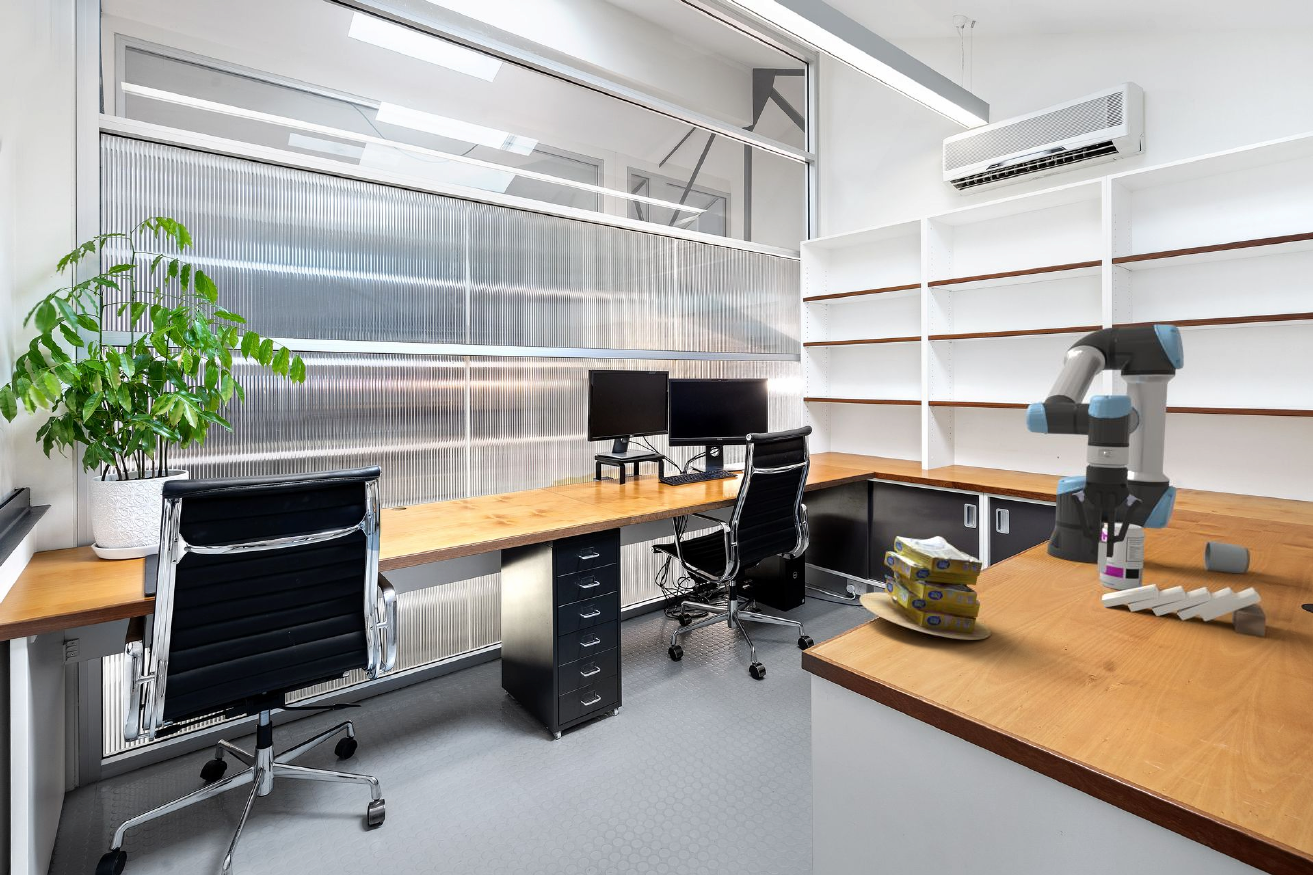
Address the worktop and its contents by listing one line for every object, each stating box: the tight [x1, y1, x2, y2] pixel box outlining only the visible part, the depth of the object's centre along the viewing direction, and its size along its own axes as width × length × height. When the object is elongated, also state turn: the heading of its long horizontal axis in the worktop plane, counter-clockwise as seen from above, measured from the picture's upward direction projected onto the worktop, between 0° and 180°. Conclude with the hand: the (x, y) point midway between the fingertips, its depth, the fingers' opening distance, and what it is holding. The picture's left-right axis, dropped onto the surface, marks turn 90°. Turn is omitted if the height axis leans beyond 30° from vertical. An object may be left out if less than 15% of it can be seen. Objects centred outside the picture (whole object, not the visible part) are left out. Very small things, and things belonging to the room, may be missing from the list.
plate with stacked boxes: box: [859, 535, 992, 641], centre depth 129 cm, size 25×25×17 cm
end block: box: [1231, 603, 1267, 638], centre depth 126 cm, size 4×9×4 cm, turn 142°
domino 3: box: [1151, 586, 1212, 617], centre depth 133 cm, size 2×5×10 cm
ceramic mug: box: [1203, 540, 1251, 574], centre depth 168 cm, size 11×8×8 cm
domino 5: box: [1199, 587, 1262, 622], centre depth 128 cm, size 2×5×10 cm
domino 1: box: [1101, 583, 1160, 608], centre depth 138 cm, size 2×5×10 cm
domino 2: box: [1126, 585, 1187, 613], centre depth 135 cm, size 2×5×10 cm
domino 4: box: [1176, 586, 1237, 621], centre depth 130 cm, size 2×5×10 cm
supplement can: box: [1099, 523, 1145, 591], centre depth 153 cm, size 8×8×15 cm
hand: (1101, 570), depth 141 cm, fingers closed
